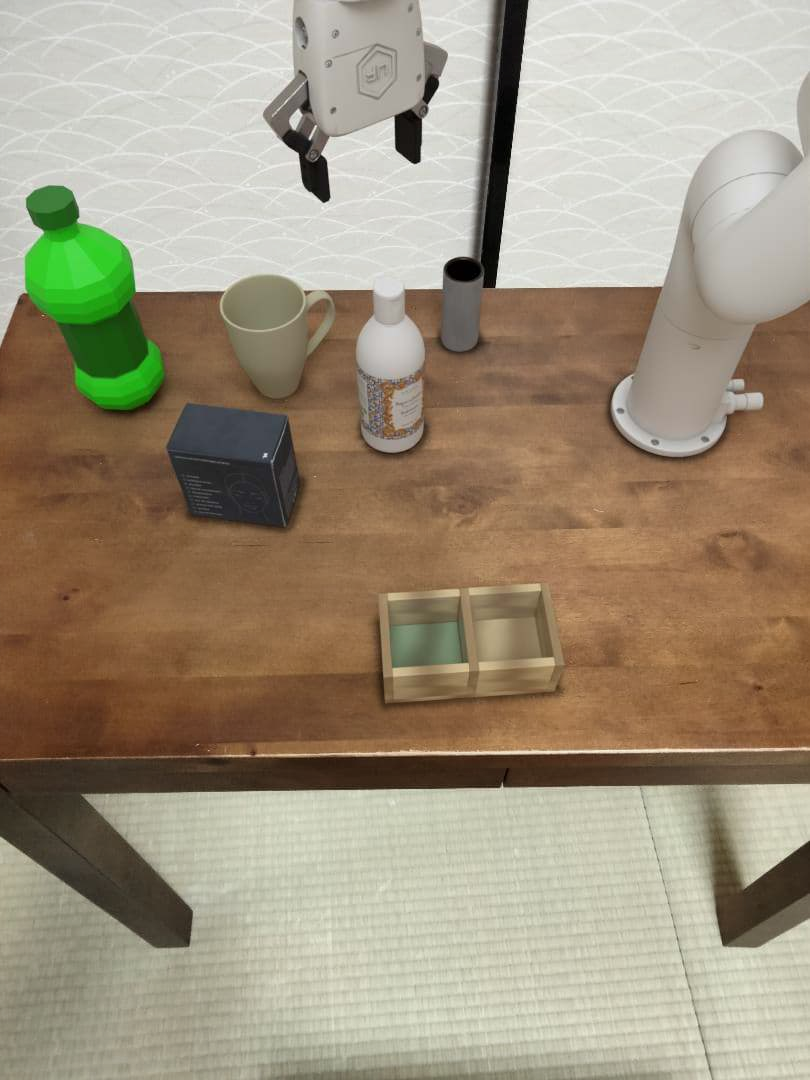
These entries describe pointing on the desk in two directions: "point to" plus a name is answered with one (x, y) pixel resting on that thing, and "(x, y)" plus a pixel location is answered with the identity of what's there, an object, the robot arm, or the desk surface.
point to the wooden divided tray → (469, 642)
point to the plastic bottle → (91, 302)
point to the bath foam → (390, 372)
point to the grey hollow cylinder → (461, 303)
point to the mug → (272, 329)
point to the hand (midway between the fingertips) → (363, 175)
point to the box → (235, 464)
